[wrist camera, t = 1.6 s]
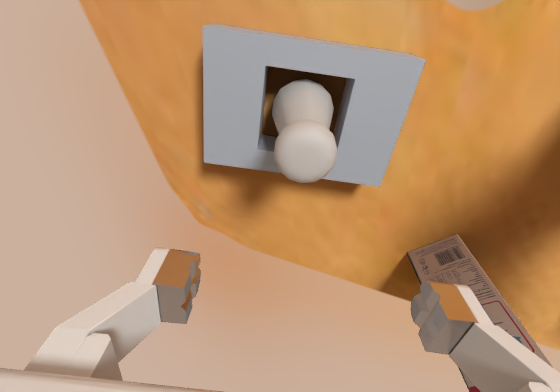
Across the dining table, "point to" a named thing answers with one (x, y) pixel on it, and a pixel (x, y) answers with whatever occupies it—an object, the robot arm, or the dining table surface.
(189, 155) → the dining table surface
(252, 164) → the socket board
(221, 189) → the dining table surface
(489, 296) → the juice carton
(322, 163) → the salt shaker
